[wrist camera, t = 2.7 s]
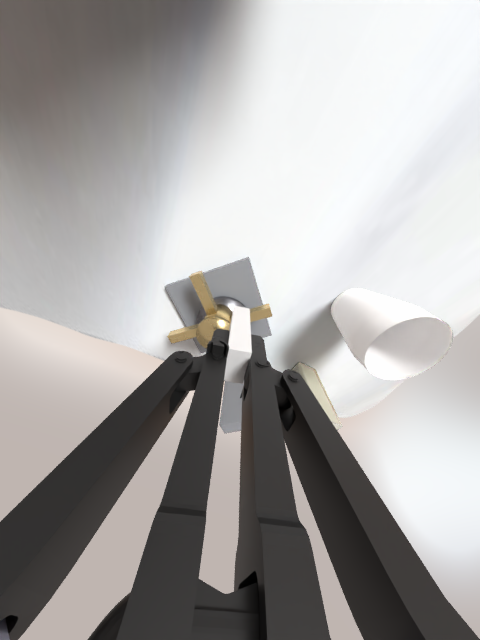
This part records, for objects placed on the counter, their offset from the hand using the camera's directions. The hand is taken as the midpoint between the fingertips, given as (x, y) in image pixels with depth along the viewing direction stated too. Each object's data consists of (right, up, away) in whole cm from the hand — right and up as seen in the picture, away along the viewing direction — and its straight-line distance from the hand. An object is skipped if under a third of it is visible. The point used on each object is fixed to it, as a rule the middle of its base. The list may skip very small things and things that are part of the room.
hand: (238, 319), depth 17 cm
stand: (-2, -1, +16) cm, 16 cm away
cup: (+19, +2, +13) cm, 23 cm away
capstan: (-3, +1, +13) cm, 13 cm away
